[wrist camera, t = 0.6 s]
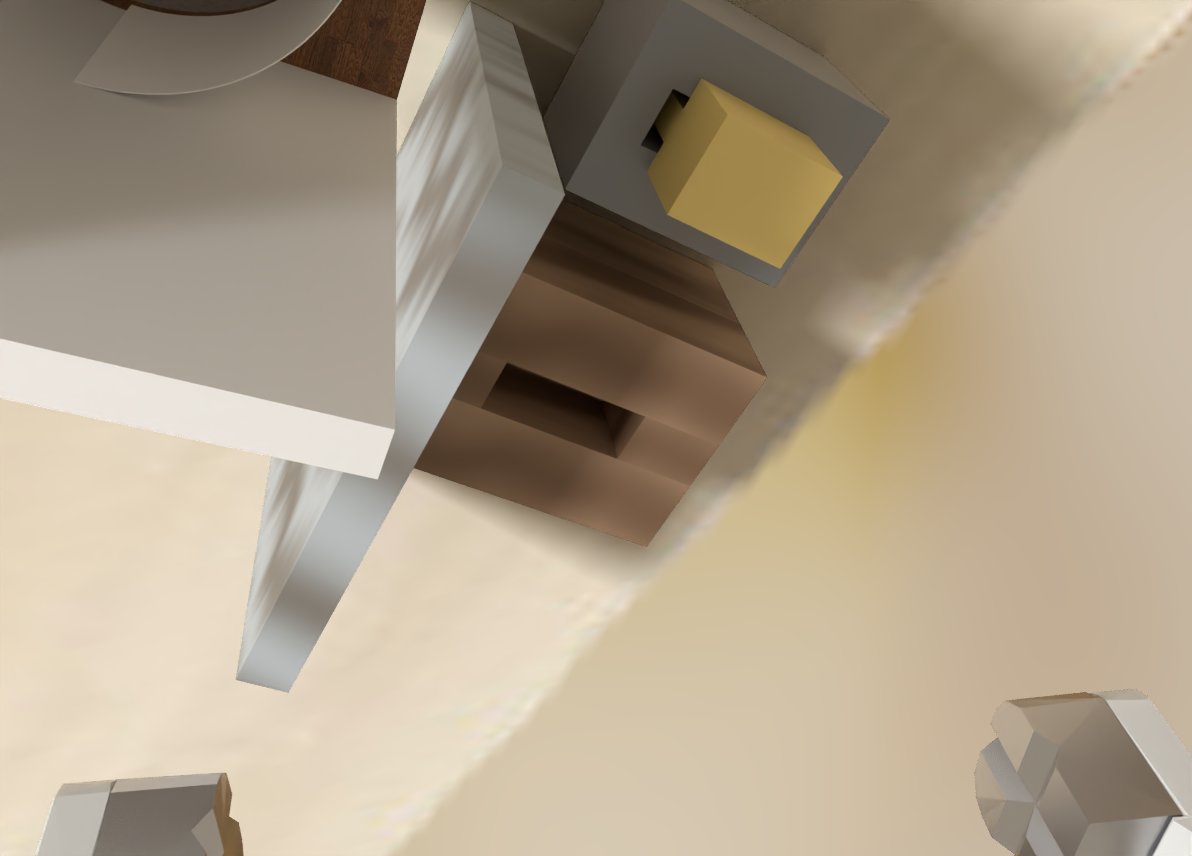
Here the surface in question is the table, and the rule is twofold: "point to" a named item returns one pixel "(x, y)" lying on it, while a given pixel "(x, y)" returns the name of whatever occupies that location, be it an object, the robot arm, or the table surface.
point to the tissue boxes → (508, 355)
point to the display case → (205, 218)
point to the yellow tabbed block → (738, 172)
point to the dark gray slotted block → (678, 61)
